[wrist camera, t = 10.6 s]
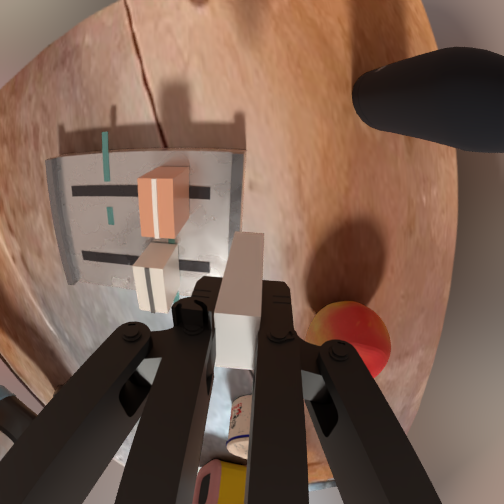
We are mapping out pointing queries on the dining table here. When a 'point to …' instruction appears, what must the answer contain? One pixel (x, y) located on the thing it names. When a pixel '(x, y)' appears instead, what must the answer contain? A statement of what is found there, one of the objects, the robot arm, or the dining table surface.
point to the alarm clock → (220, 483)
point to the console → (128, 217)
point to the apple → (353, 332)
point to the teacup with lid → (240, 426)
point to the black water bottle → (438, 98)
